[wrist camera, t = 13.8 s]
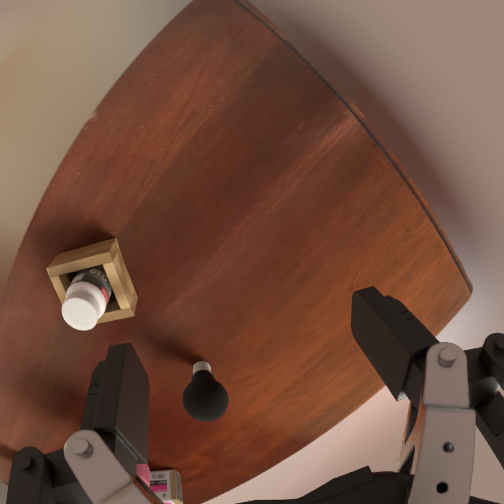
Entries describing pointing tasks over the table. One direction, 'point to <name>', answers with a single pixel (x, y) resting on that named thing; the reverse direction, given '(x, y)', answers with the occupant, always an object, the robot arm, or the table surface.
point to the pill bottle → (87, 298)
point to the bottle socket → (114, 267)
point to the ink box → (166, 486)
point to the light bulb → (204, 395)
